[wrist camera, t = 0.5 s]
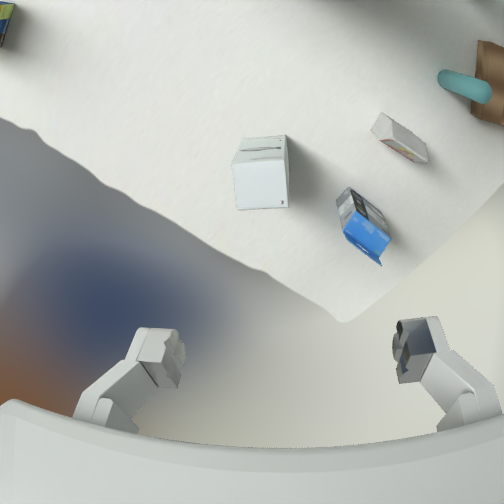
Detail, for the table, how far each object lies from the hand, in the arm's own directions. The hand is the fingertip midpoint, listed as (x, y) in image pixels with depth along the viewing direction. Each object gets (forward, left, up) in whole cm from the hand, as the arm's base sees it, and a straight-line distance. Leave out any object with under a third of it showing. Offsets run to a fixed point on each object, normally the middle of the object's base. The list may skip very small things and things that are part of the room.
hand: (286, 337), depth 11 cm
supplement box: (+9, -3, -45) cm, 46 cm away
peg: (-8, +27, -45) cm, 53 cm away
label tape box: (+18, +14, -45) cm, 50 cm away
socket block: (-10, +40, -45) cm, 60 cm away
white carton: (+3, +18, -45) cm, 48 cm away
